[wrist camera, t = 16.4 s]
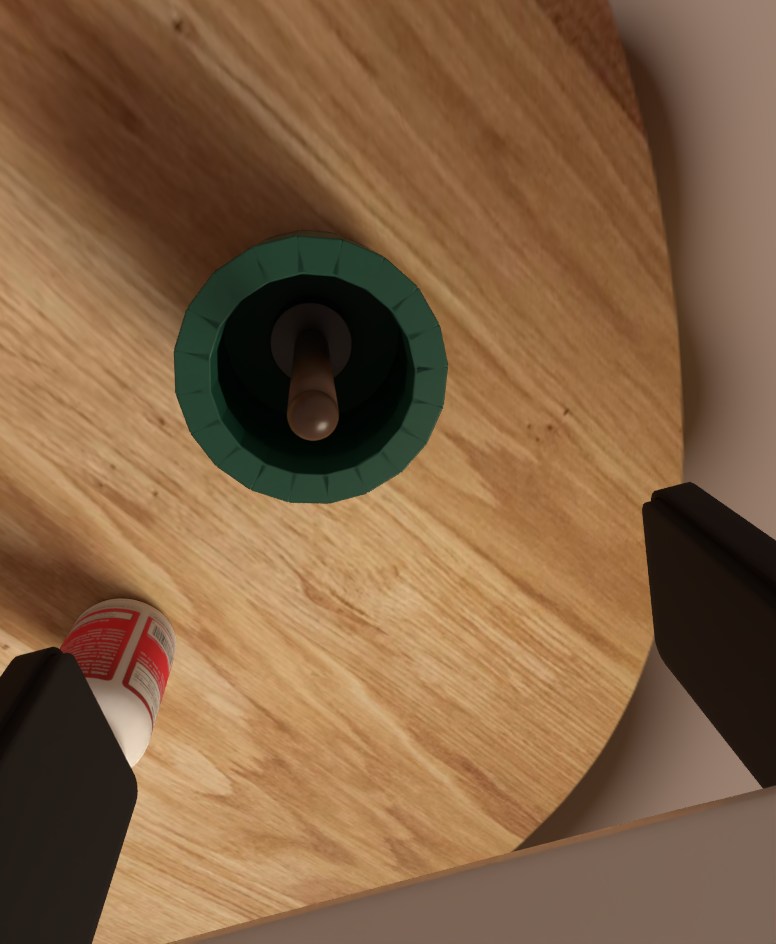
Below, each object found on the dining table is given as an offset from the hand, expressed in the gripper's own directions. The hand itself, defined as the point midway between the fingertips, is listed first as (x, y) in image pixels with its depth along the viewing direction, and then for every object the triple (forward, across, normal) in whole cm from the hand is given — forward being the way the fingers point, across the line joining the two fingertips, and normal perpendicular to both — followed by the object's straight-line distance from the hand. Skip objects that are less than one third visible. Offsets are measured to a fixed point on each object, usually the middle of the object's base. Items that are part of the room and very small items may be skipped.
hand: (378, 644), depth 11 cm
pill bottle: (+27, +17, +14) cm, 35 cm away
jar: (+27, +1, -1) cm, 27 cm away
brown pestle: (+26, +1, -1) cm, 26 cm away
